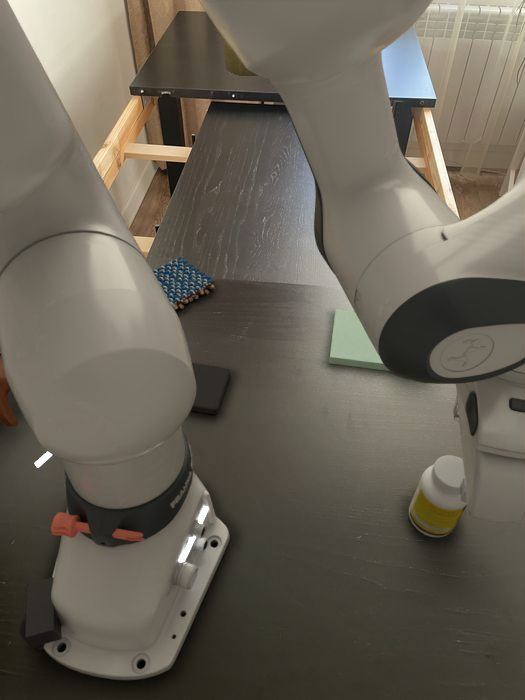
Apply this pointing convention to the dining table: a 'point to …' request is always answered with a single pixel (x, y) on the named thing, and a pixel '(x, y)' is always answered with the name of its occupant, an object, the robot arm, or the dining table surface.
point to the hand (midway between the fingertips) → (464, 454)
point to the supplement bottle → (439, 497)
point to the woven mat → (182, 282)
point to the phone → (209, 387)
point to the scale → (352, 343)
